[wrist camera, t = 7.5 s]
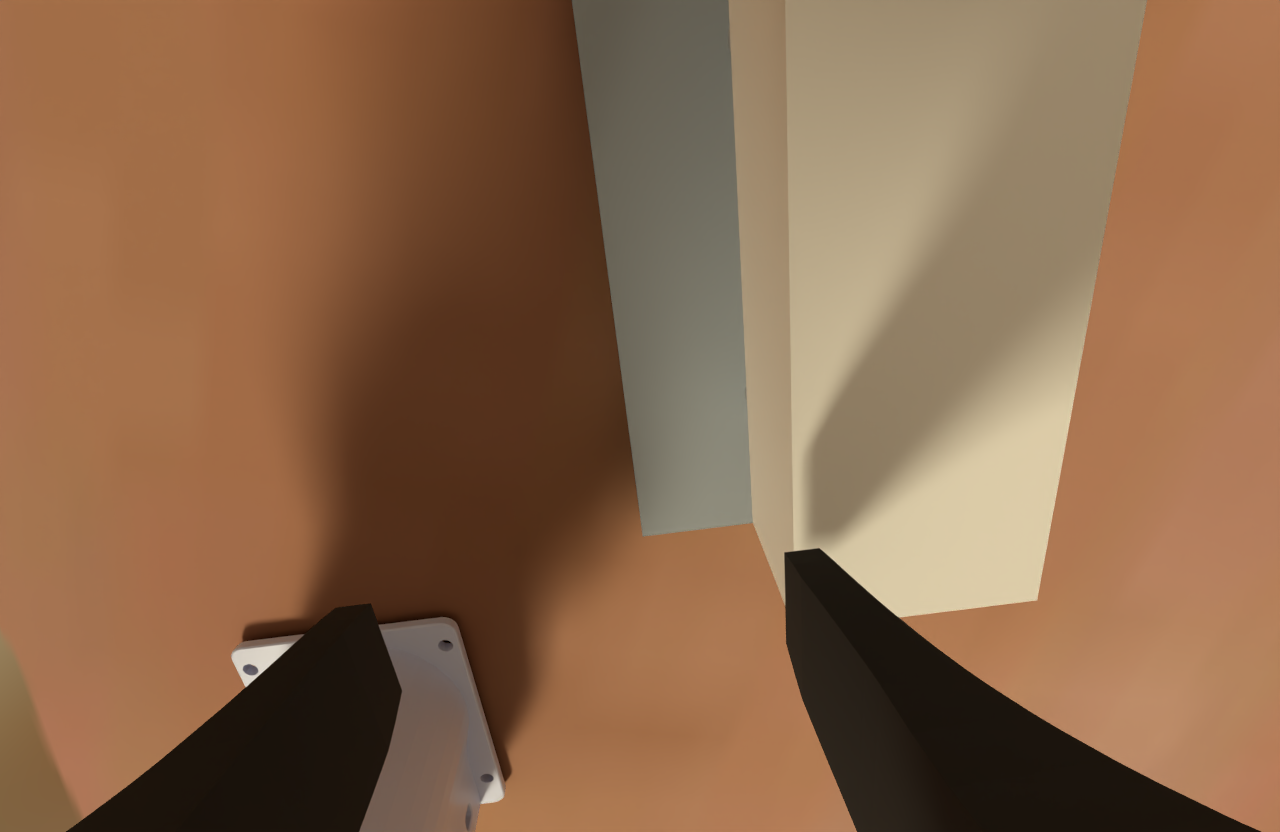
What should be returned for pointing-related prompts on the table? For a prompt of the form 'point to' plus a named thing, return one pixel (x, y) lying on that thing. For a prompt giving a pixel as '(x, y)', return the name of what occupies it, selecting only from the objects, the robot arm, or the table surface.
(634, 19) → the flat gray board
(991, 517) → the cream rectangular block
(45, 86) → the table surface
